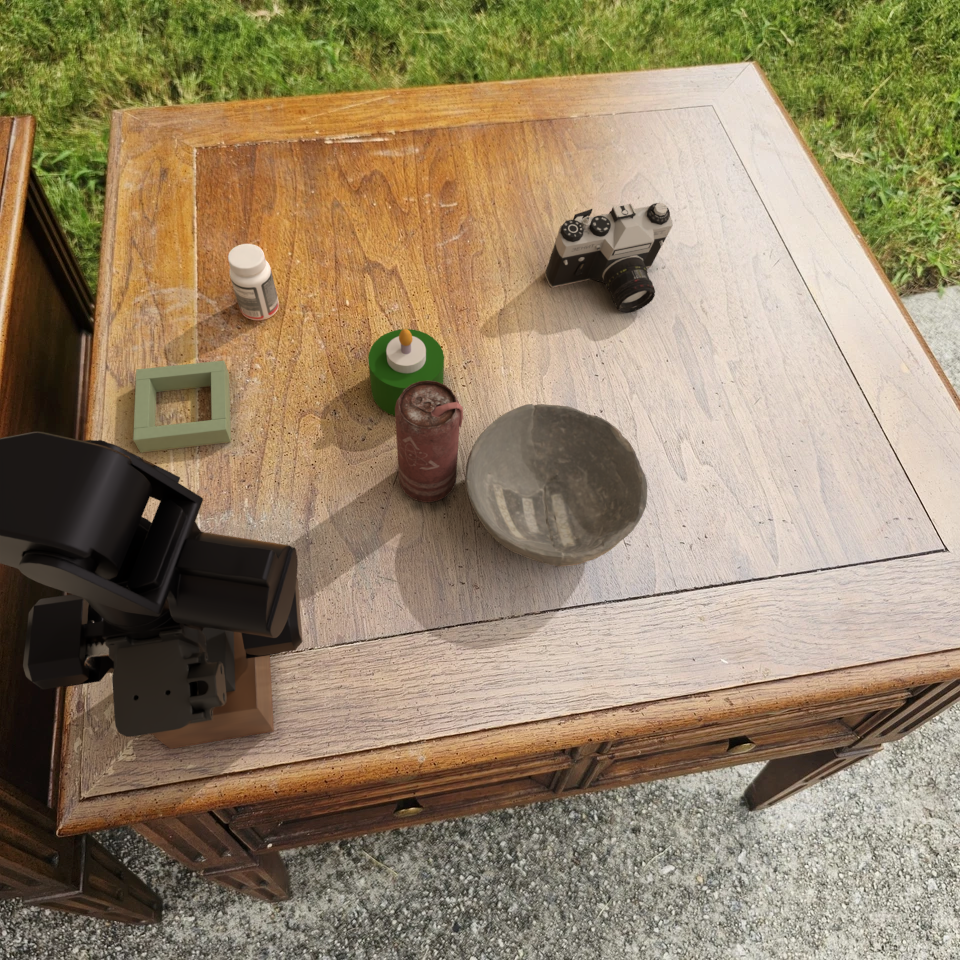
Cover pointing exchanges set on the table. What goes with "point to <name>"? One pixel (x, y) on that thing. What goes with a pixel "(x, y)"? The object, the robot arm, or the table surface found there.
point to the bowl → (555, 484)
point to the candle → (402, 364)
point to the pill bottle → (252, 282)
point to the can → (427, 440)
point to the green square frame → (182, 433)
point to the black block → (222, 652)
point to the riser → (233, 706)
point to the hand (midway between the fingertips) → (197, 660)
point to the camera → (612, 252)
